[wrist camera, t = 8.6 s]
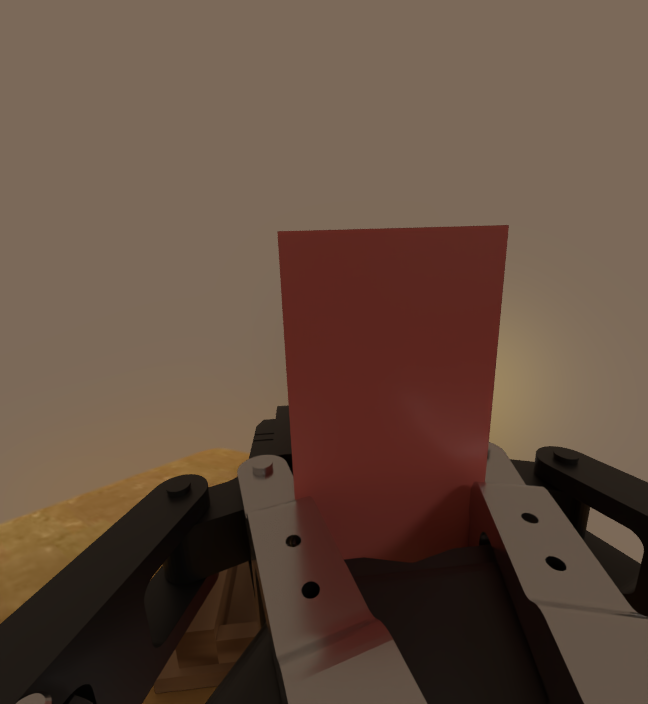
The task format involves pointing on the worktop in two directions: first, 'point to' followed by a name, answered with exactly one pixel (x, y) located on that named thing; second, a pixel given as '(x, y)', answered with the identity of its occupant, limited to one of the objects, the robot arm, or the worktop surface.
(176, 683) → the rack
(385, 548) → the salmon rectangular prism
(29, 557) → the worktop surface
